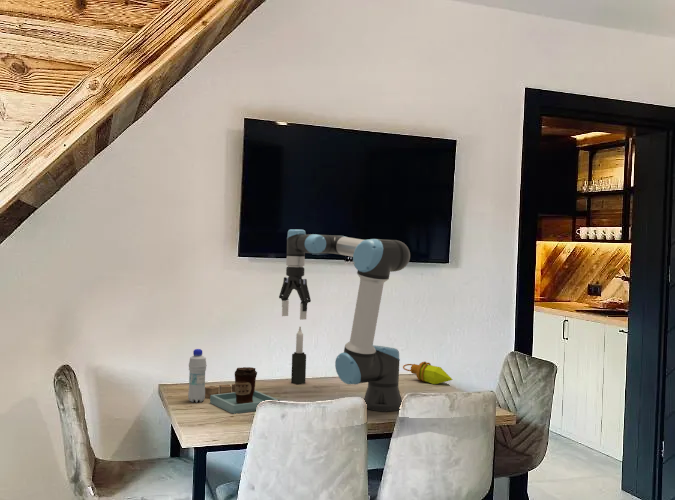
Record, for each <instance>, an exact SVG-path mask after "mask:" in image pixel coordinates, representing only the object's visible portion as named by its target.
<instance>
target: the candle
mask: <svg viewBox="0 0 675 500" xmlns="http://www.w3.org/2000/svg"><path fill="white" fill-rule="evenodd" d="M295 336H296V338H295V339H296V341H295V342H296V343H295V351H294V352H293V353H292V355H291V374H290V375H291V379H290V381H291V384H294V385H304V384H306V378H307V377H306V375H307V372H306V371H307V366H306V365H307V354H306V353H305V352H304V350H303V349H304V333H303V331H302V326H298V331H297V333H296V335H295Z"/></svg>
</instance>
